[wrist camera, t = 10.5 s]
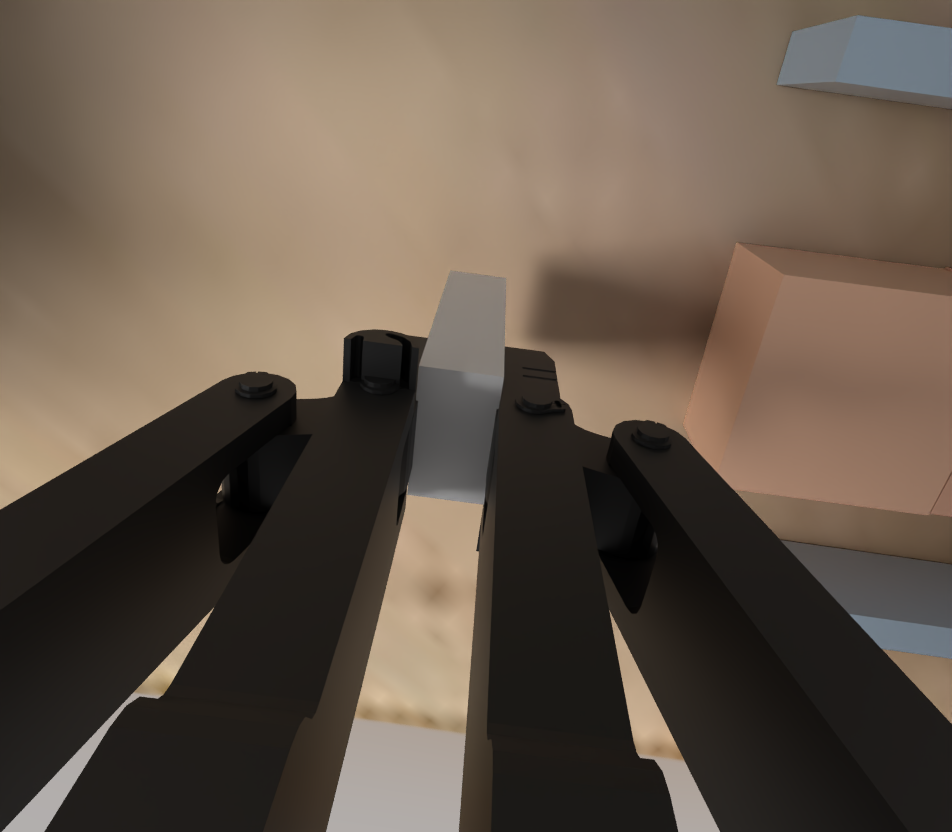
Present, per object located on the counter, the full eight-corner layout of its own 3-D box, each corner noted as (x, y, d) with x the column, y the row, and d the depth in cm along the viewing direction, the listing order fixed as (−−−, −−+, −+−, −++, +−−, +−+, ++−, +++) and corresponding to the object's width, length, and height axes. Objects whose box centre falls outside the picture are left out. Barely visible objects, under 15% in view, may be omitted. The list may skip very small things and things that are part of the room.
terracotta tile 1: (681, 421, 21) (713, 486, 18) (734, 241, 19) (783, 275, 15) (860, 445, 21) (928, 515, 18) (939, 267, 19) (1038, 307, 15)
